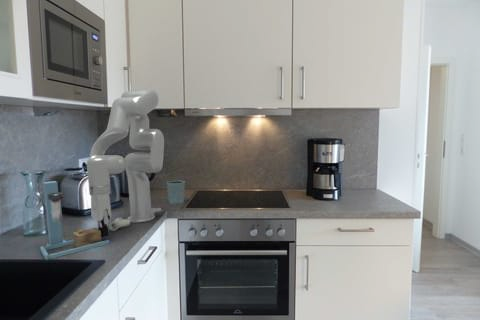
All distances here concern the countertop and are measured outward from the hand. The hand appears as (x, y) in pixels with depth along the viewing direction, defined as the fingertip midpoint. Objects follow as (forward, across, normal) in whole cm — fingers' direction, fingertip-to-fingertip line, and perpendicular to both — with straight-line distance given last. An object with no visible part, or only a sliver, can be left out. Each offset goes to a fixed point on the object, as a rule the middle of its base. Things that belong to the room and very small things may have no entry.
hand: (103, 236), depth 123 cm
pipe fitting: (+2, -11, +10) cm, 15 cm away
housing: (+2, 0, -6) cm, 6 cm away
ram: (-10, 0, -15) cm, 18 cm away
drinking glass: (+2, -34, +50) cm, 61 cm away
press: (+2, -2, -10) cm, 10 cm away
